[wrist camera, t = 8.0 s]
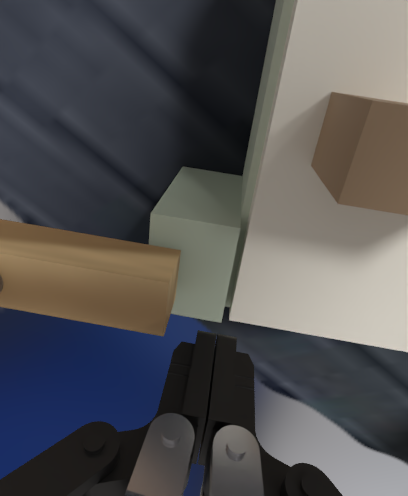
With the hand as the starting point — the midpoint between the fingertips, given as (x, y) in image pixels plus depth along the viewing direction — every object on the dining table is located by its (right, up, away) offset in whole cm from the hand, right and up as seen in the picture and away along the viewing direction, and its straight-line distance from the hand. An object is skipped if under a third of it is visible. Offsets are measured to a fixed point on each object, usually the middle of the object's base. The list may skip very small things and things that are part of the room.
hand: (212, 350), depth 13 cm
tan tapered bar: (-7, +3, +5) cm, 9 cm away
